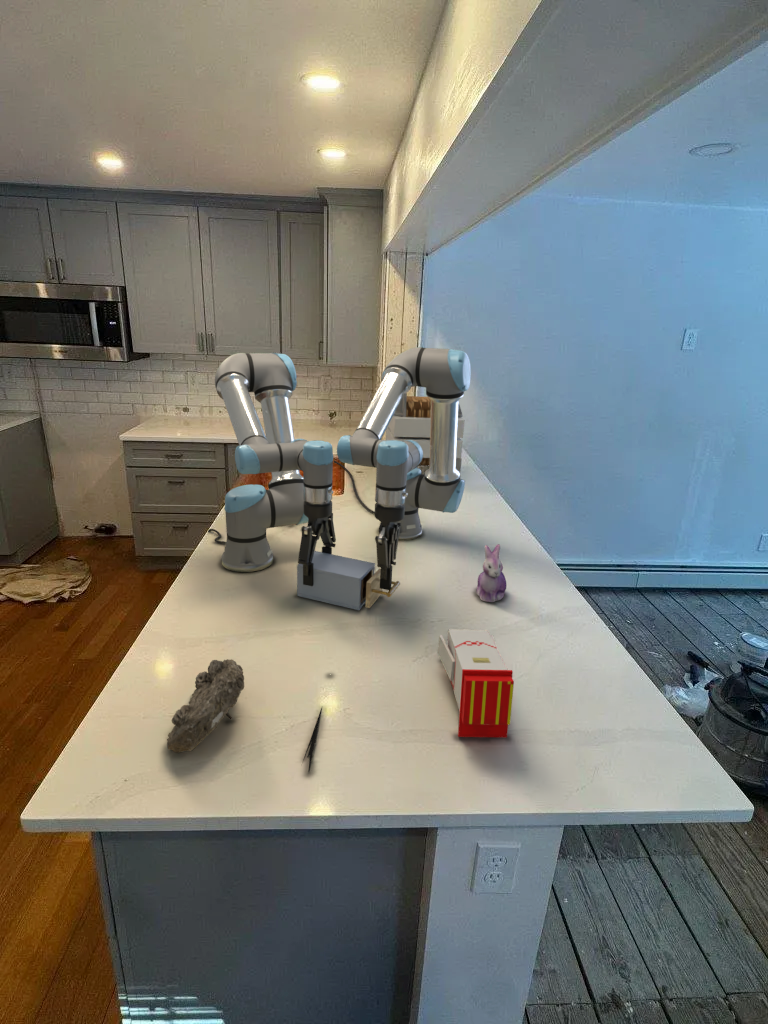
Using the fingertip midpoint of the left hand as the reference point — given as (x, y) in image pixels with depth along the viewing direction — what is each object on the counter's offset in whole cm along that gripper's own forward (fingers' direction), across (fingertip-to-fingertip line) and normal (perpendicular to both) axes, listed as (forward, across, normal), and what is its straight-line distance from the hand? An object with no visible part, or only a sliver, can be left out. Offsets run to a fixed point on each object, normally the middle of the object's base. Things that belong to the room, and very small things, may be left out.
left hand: (317, 576), depth 156 cm
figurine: (+4, +18, -45) cm, 49 cm away
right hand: (-1, 0, -20) cm, 20 cm away
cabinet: (+4, 0, -6) cm, 7 cm away
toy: (+4, -26, -49) cm, 56 cm away
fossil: (+4, -54, -5) cm, 55 cm away
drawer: (+3, 0, -12) cm, 12 cm away
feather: (+4, -47, -24) cm, 53 cm away
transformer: (+4, +129, +10) cm, 129 cm away
